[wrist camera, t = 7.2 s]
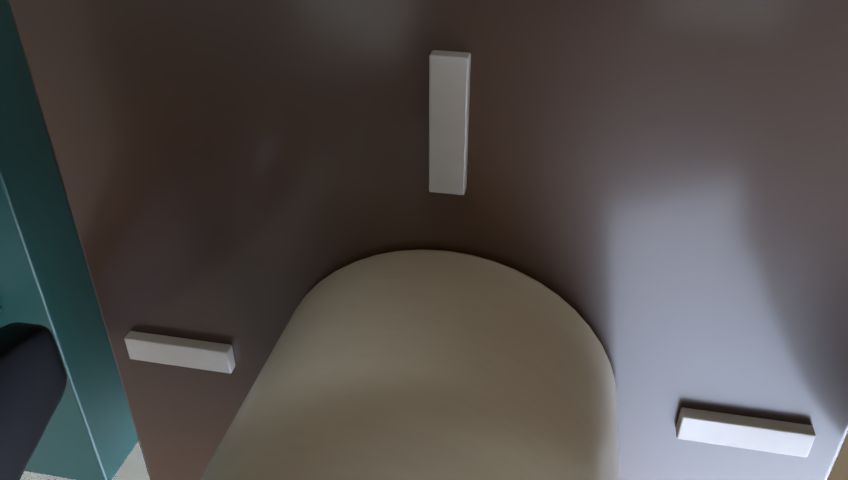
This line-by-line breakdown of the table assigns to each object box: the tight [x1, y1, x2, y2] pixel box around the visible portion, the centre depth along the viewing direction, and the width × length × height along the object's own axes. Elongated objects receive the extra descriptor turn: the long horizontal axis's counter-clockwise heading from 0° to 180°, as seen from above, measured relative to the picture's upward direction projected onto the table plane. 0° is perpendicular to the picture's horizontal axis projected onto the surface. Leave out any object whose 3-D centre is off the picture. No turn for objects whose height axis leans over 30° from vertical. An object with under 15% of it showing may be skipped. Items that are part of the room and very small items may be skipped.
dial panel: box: [8, 0, 848, 480], centre depth 10 cm, size 10×9×3 cm
